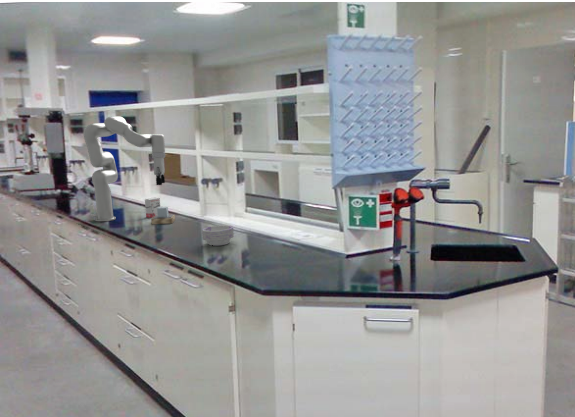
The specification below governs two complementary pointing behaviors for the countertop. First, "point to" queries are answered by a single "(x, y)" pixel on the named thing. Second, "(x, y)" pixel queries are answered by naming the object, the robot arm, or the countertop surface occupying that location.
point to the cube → (162, 211)
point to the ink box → (152, 206)
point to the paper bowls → (218, 235)
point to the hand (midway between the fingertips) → (160, 184)
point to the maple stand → (163, 219)
